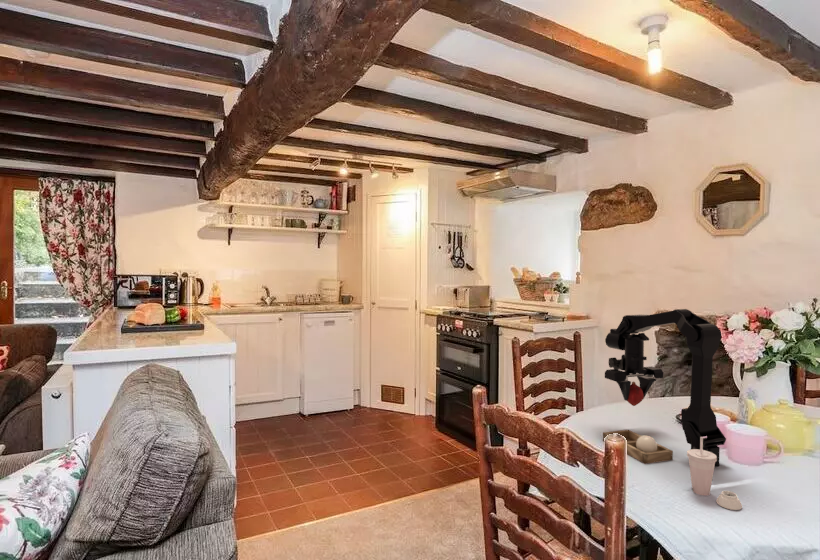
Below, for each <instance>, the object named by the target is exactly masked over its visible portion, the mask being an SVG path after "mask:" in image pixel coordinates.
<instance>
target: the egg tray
mask: <svg viewBox="0 0 820 560" xmlns="http://www.w3.org/2000/svg"><path fill="white" fill-rule="evenodd" d="M613 433H618V434H620V435H622V436H624V437H625V438H626V440H627V454H626V455H628V456H630V457H632V458H634V459H636V460H637V461H639V462H641V463H642V464H652V463H659V462H665V461H666V462H667V461H673V457H674V456H673V455H674V451H673V450H672V449H670V448H667V447H665V446H663V445H661V444H659V443H657V451H656V452H648V453H645V452H643V451H641V450H639V449H637V447H636V441H637V439H638V438H639V437H641V436H642V435H641V434H639V433H636V432H634V431H633V430H630V429H623V430H615V431H605V432H602V441H603V442H605V441H604V438H605V437H606V436H607V435H609V434H613Z"/></svg>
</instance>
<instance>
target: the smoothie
mask: <svg viewBox="0 0 820 560" xmlns="http://www.w3.org/2000/svg"><path fill="white" fill-rule="evenodd" d="M703 438H704V437H700V449H691V448H690V449H688V450H687V451H686V453H687V454H686V456H687V458H688V464H689V472H690V480H691V490H692V492H693V493H694V494H696V495H699V496H705V497H707V496H710V495H711V488H712V482H713V478H714V477H713V476H714V470H715V467H714V466H715V462H716V461H717V456H716V455H715V454H713V453H711V452H709V451H705V450H703Z"/></svg>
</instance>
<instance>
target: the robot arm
mask: <svg viewBox="0 0 820 560" xmlns="http://www.w3.org/2000/svg"><path fill="white" fill-rule="evenodd" d="M673 324H675V325H676V326H677V329H678V331H679V332H680V333H681V334H682V335H683V336H684V337H685V340H686V341H685V342H686V346H687V348H688V350H689V351H690V353H691V355H692V356H691V376H690V377H691V381H690V398H689V399H690V400H689V401H690V403H689V405H688V407H686V408H681V411H680V415H681V418H680V421H679V423H680V424H681V423H682V424H681V427H682V431H684V432H683V433H684V436H685V440H686V443H687V444H689V445H690V449H700V437H703V450H705V451H709V452H711V453H713V454H715V455H716V456H717V461H716V462H715V466H714V468H717V467H720V451H721V450H720V448H721V447H720V446H723V445H725V443H726V440H727V437H725V434H723V432H722V431H721V429H720V428H719V427H718V424H717V423H718V422H717V417H716V414H715V412H714V410H713V409H712V407H711V404H712V403H711V401H712V384H713V383H712V379H713V360H714V355H715V354H716V352H717V351H718V349H719V348H720V343H721V339H722V332H721V331H722V330H721V329H719V328H718V326H717V325H716V324H713V323H711V322H710V321H708V320H707V319H705V318H704V317H700V316H699V315H697V314H695V313H693V311H691V310H690V309H687V308H679V309H676V308H675V309H673V310H671V311H663V312H659V313H652V314H627V315H623V316H622V319H621V321H620V323H619V325H618V326H617V328H610V330H609V332H608V333H607V335H606V336H605V341H604V342H605V346H607V347H608V348H610V349H613V350H614V349H615V350H619V351H624V354H622V355H621V357H620V358H619V359H618V358H617V357H609V358H608V366H609V368H610V369H606V370H605V371H604V379H607V380H610V381H613V382H616V384H618V387H619V390H620V392H621V394H622V397H623V400H624V401H627V402H628V397H629V391H630V385H631V384H632V381H630V380H629V378H635V377H637V380H638V381H639V387H640V388H641V390H642V391H643V396H644V397H643V400H644V399H645V398H646V395H647V394H648V391H650V389H651V387H652V385H653V384H654V382H656V381H657V379H663V378H664V371H663V370H662V369H661V368H659V367H655V366H645V365H644V364H645V363H644V361H647V359H648V358H647V356H645V355H644V352H645V350H644V349H645V348H644V347H645V346H644V345H645V342H646V341H650V338H649V337H648V336H647V335H646V334H645V332H646V331H649V330H651V329H652V328H654V327H659V326H666V325H673ZM644 341H645V342H644ZM611 368H612V369H611Z"/></svg>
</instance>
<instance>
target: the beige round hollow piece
mask: <svg viewBox="0 0 820 560" xmlns="http://www.w3.org/2000/svg"><path fill="white" fill-rule="evenodd" d="M715 501H716V503H717V504H718V506H720V507H722V508H724V509H727V510H731V511H740V510H741V509H743V505H742V502H741V500H740V499H739V497H738V495H737V493H735V492H734V491H731V490H722V491H721V493H720V494H719V495H718V496H717V498H716V500H715Z"/></svg>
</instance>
